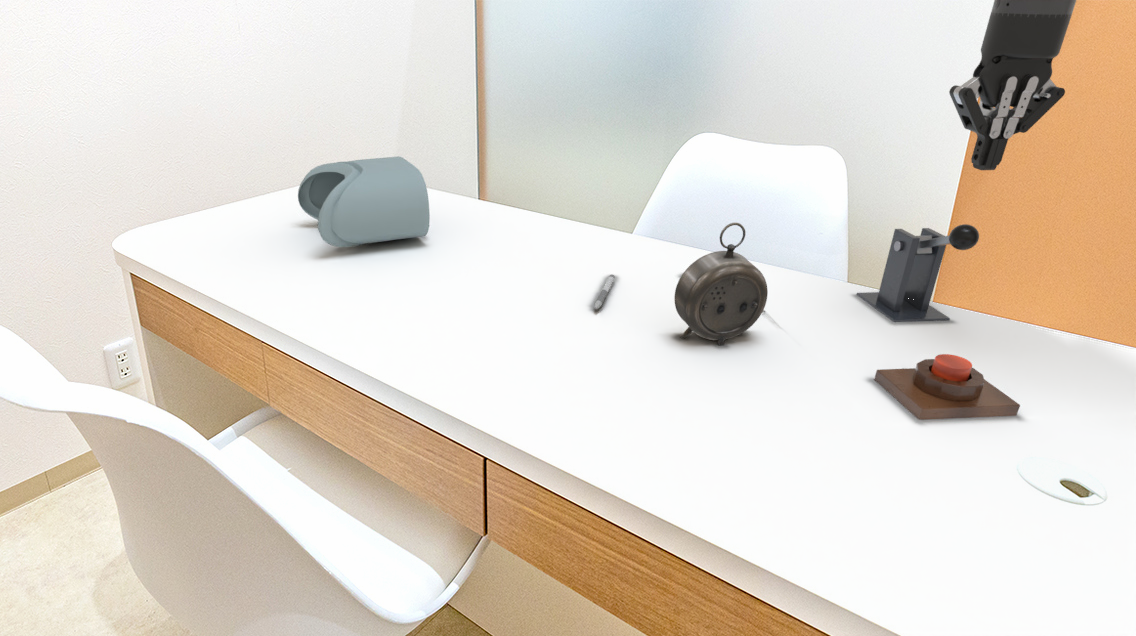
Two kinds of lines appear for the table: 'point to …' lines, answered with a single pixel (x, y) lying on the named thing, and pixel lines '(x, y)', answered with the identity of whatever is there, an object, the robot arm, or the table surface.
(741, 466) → the table surface
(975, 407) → the switch block
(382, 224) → the grey hollow curved shell
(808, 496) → the table surface
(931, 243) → the lever
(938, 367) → the button
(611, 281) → the pen
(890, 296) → the switch bracket
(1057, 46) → the robot arm
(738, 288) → the alarm clock
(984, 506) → the table surface
